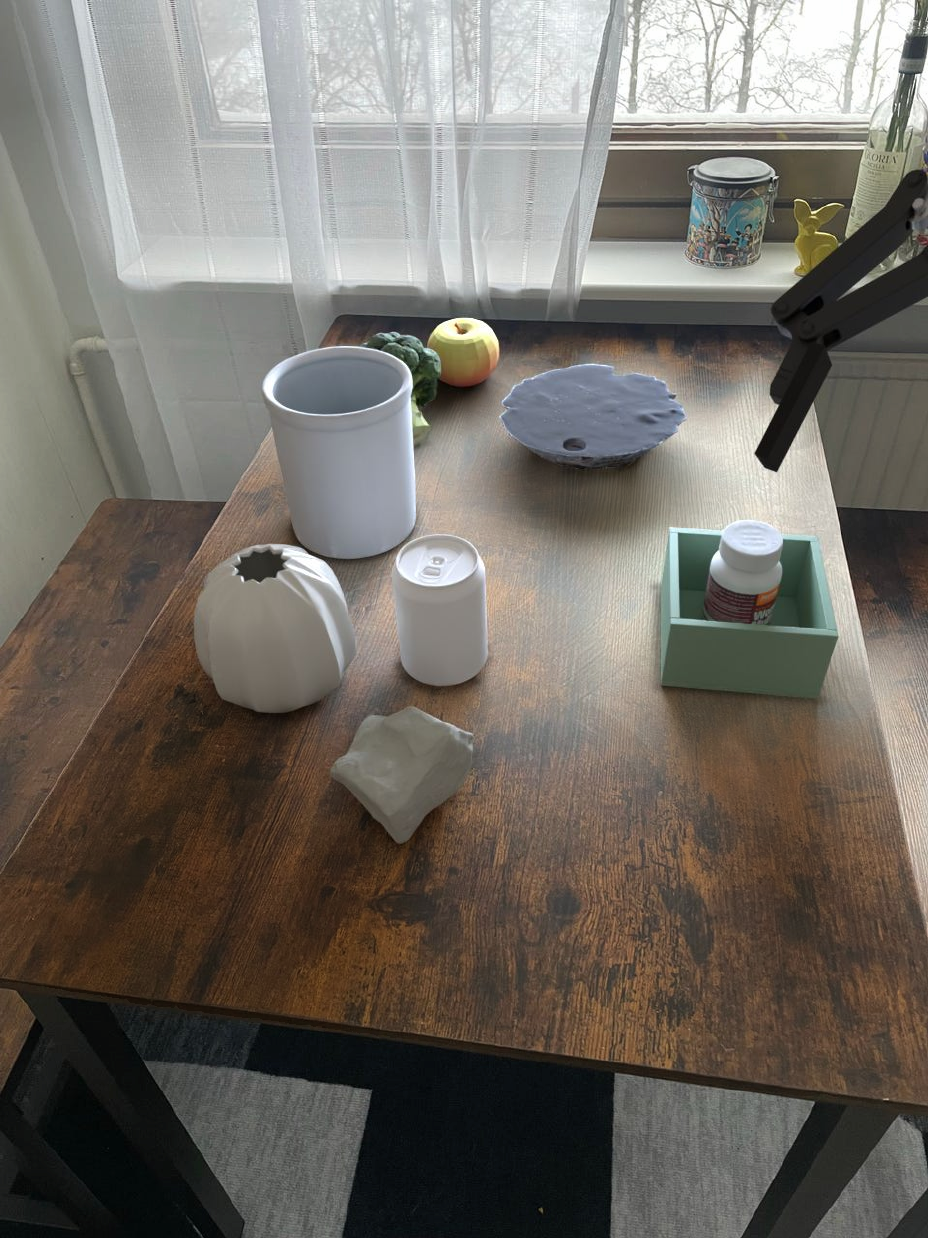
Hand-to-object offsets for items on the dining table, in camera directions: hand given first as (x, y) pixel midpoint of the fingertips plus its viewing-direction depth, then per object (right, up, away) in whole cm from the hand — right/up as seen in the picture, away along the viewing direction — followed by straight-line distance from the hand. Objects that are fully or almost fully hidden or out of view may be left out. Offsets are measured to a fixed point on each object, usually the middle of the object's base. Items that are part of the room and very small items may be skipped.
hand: (888, 509), depth 47 cm
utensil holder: (-34, +5, +56) cm, 65 cm away
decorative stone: (-27, -19, +29) cm, 44 cm away
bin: (+4, -8, +40) cm, 41 cm away
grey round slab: (-6, +16, +66) cm, 68 cm away
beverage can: (-23, -10, +39) cm, 47 cm away
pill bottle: (+4, -7, +40) cm, 41 cm away
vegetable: (-30, +19, +71) cm, 80 cm away
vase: (-38, -11, +39) cm, 55 cm away
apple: (-22, +27, +79) cm, 87 cm away
